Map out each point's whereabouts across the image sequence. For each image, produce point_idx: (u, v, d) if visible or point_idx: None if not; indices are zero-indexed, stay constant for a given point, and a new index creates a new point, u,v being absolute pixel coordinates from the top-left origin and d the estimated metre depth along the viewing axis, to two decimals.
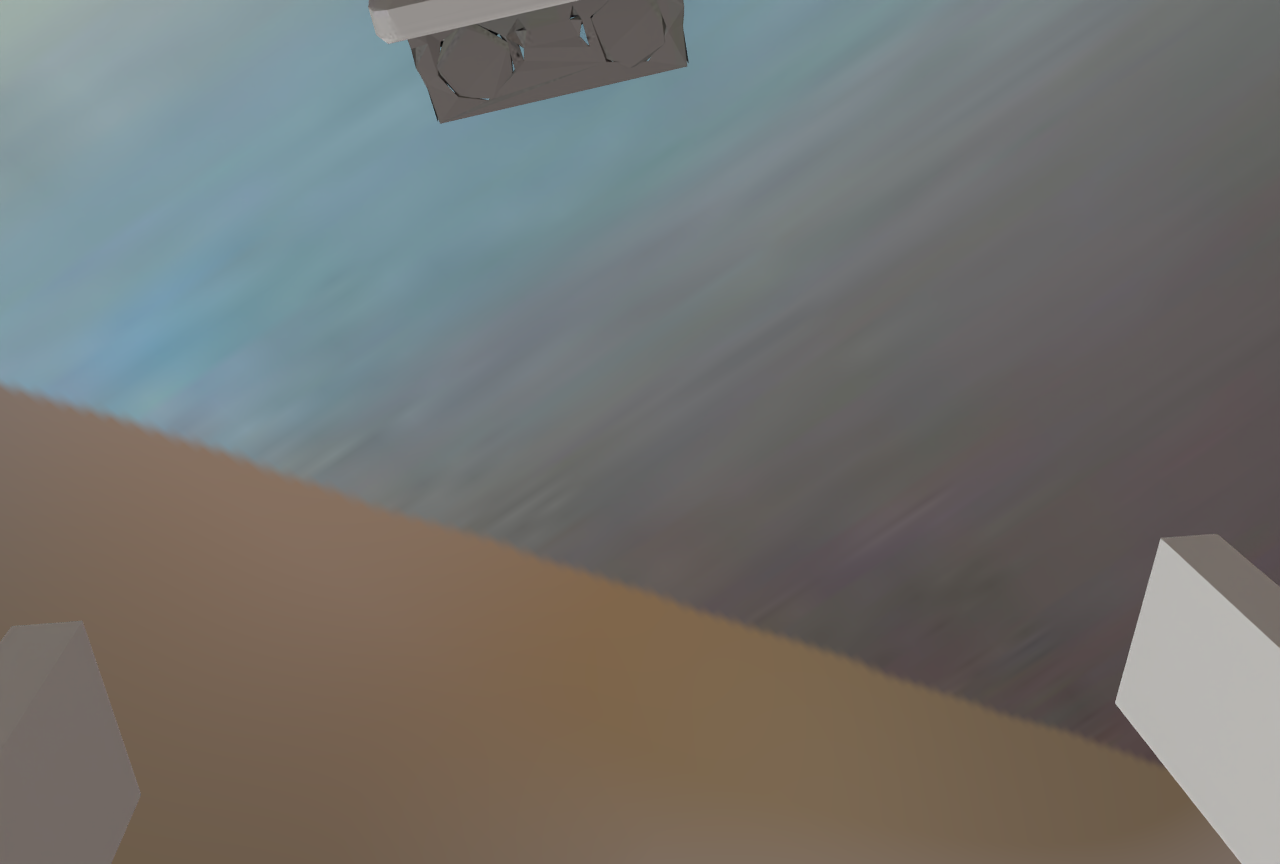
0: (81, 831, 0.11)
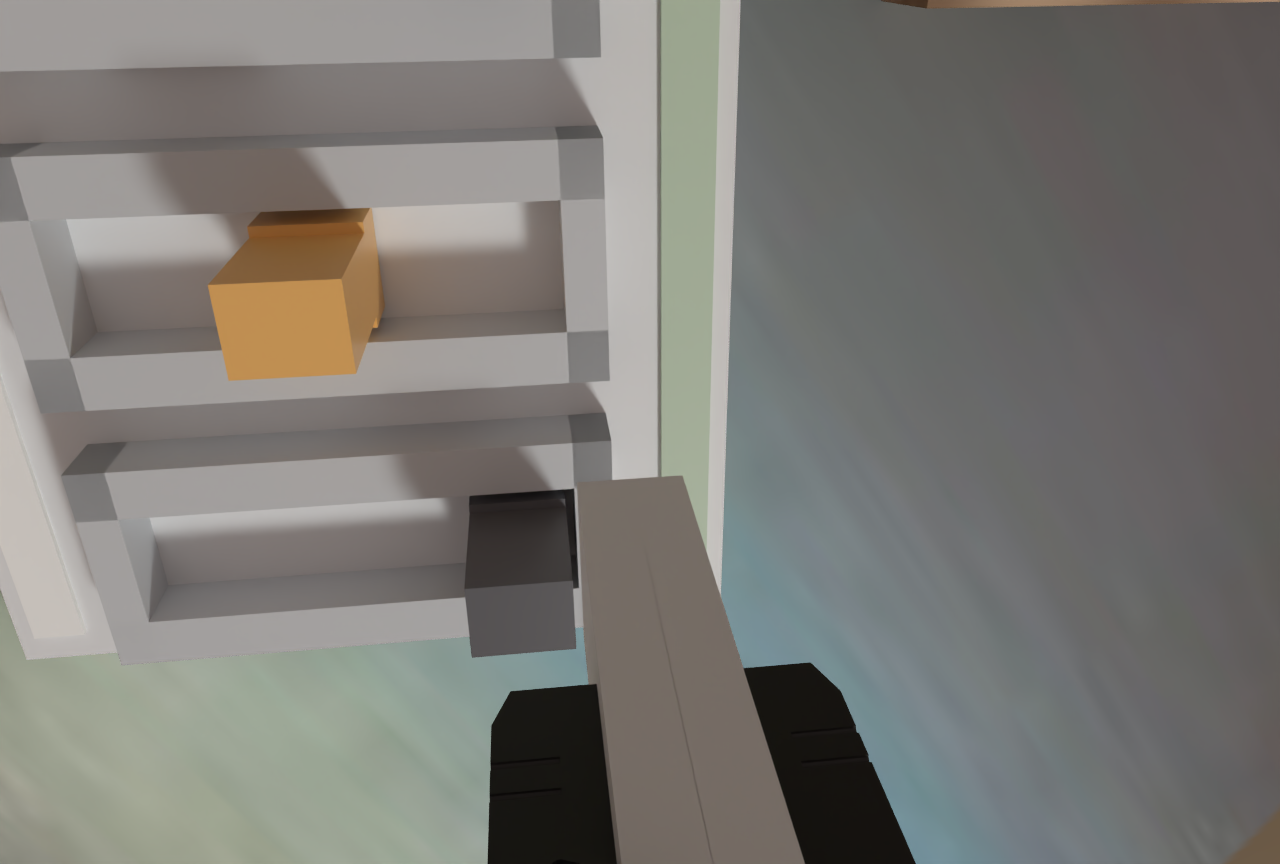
0: None
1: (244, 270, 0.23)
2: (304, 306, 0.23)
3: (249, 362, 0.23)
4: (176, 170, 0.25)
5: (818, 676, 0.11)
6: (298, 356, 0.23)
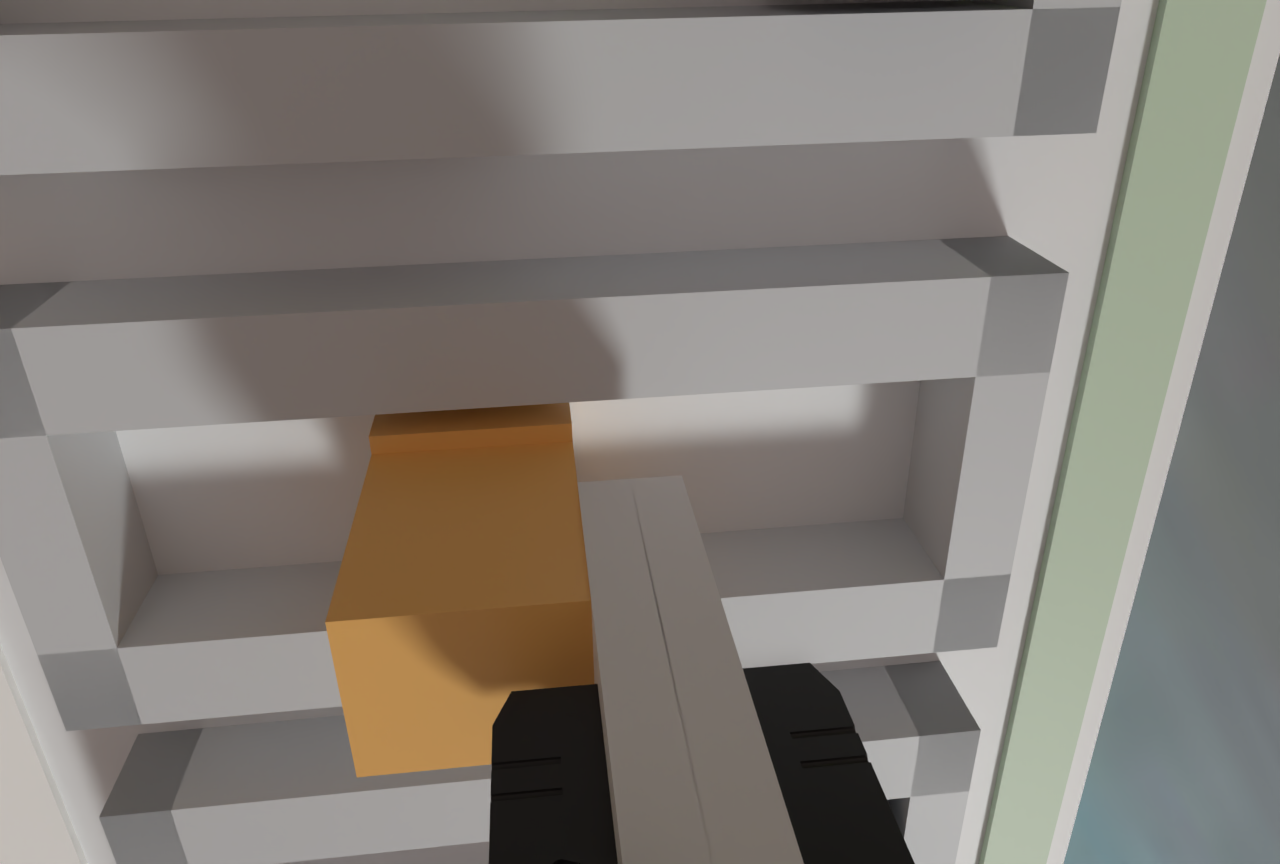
0: None
1: (386, 565, 0.12)
2: (513, 650, 0.11)
3: (398, 746, 0.12)
4: (315, 344, 0.13)
5: (818, 676, 0.11)
6: None
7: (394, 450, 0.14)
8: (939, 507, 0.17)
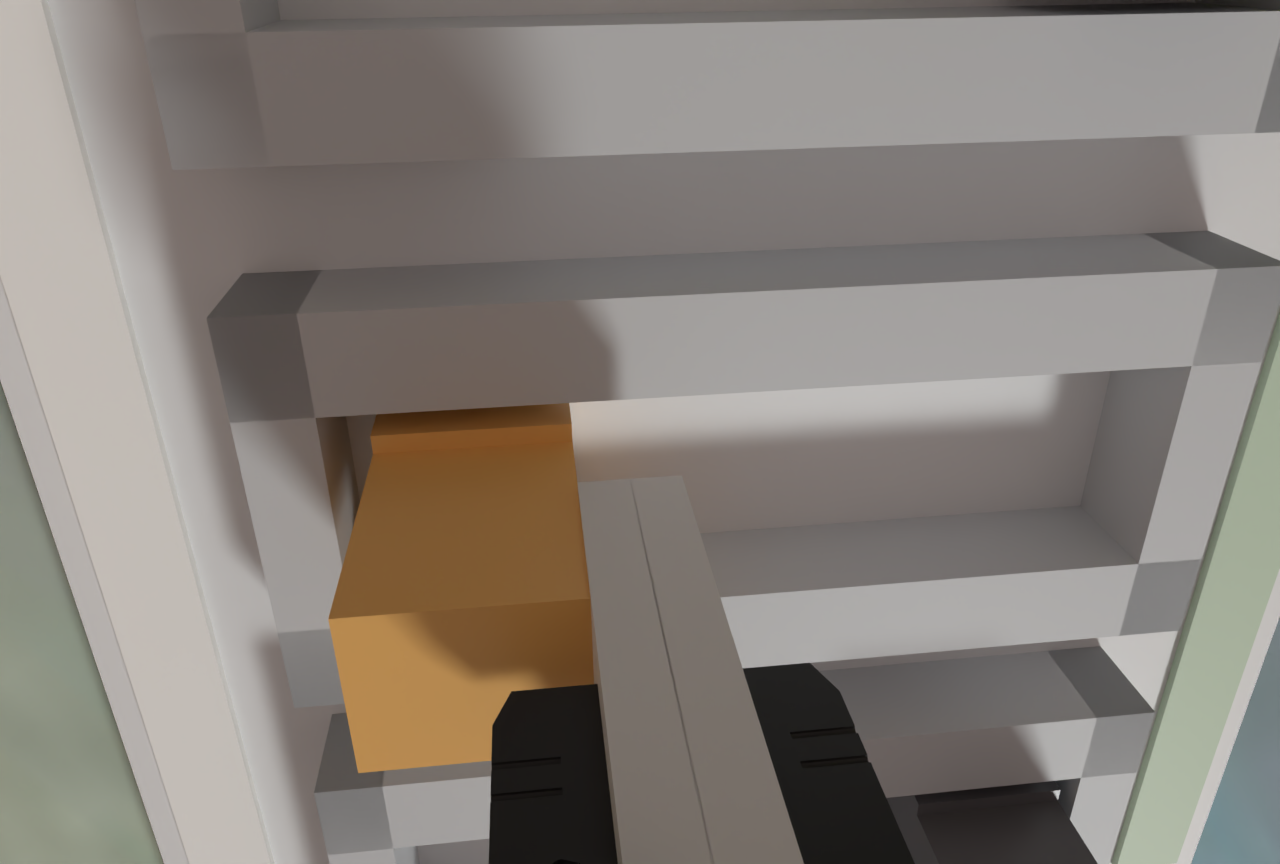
0: None
1: (389, 563, 0.12)
2: (513, 648, 0.12)
3: (399, 742, 0.12)
4: (578, 330, 0.14)
5: (818, 675, 0.11)
6: None
7: (395, 449, 0.15)
8: (1134, 493, 0.17)
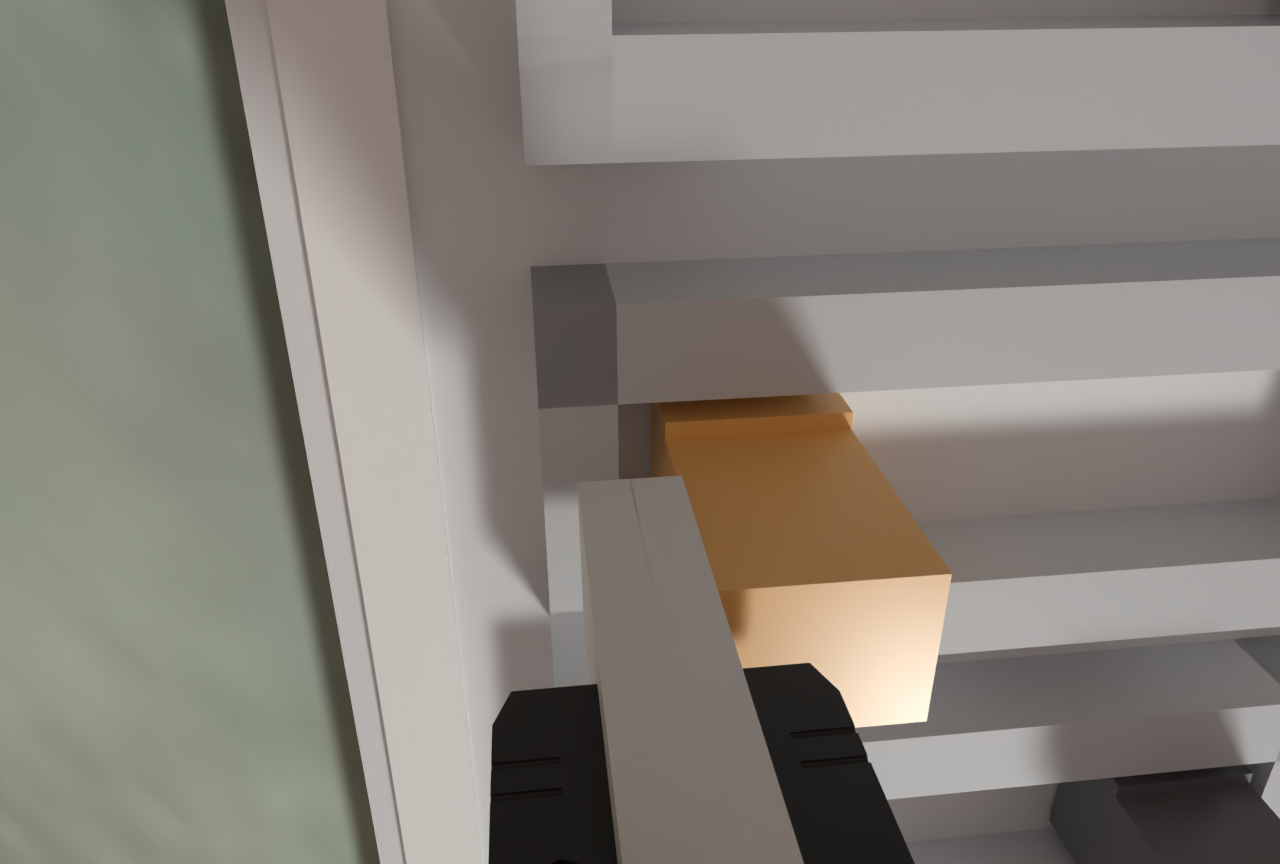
0: None
1: (740, 541, 0.13)
2: (872, 621, 0.12)
3: None
4: (873, 322, 0.15)
5: (817, 675, 0.11)
6: None
7: (686, 436, 0.15)
8: None
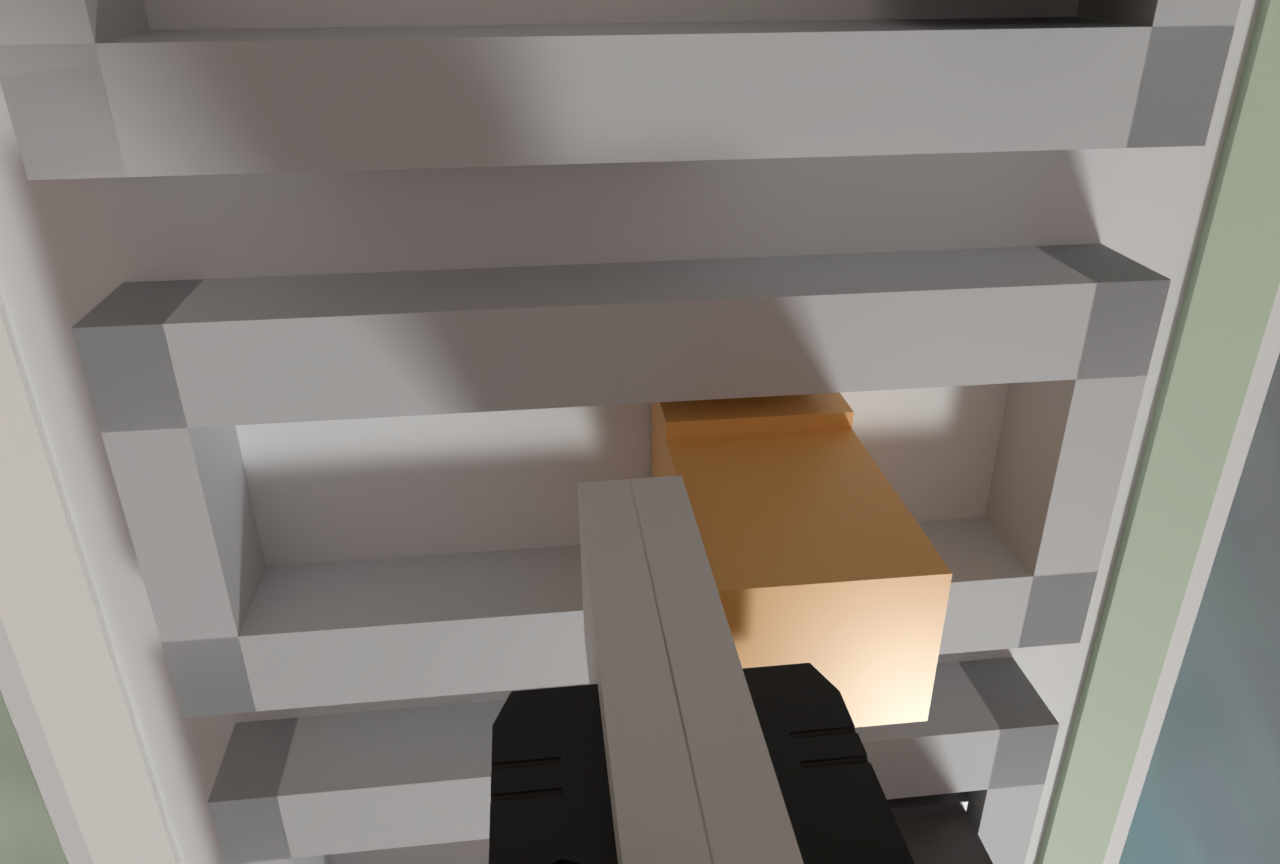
0: None
1: (740, 541, 0.13)
2: (873, 620, 0.12)
3: None
4: (450, 342, 0.14)
5: (817, 675, 0.11)
6: None
7: (687, 435, 0.15)
8: (1029, 506, 0.17)
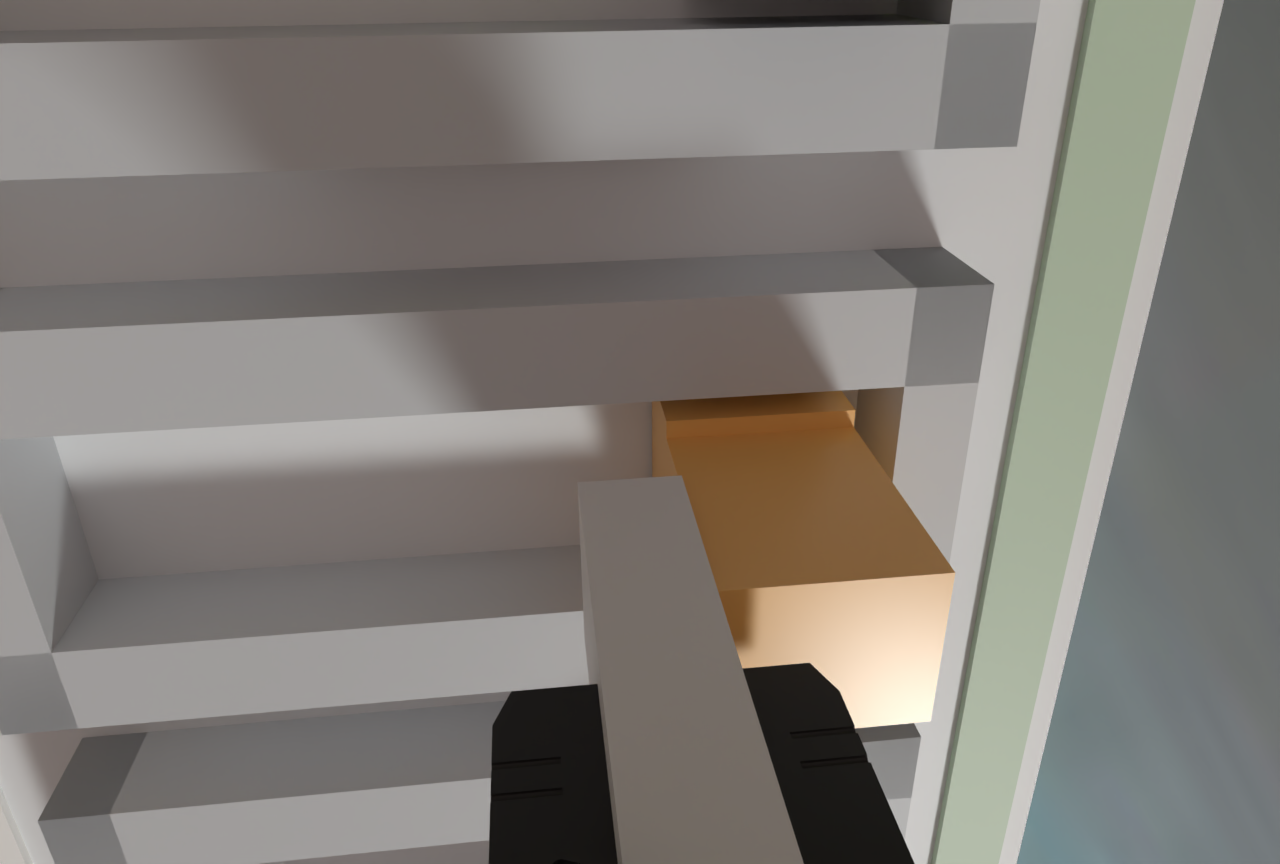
0: None
1: (742, 540, 0.13)
2: (875, 620, 0.12)
3: None
4: (242, 351, 0.14)
5: (818, 675, 0.11)
6: None
7: (687, 434, 0.15)
8: None
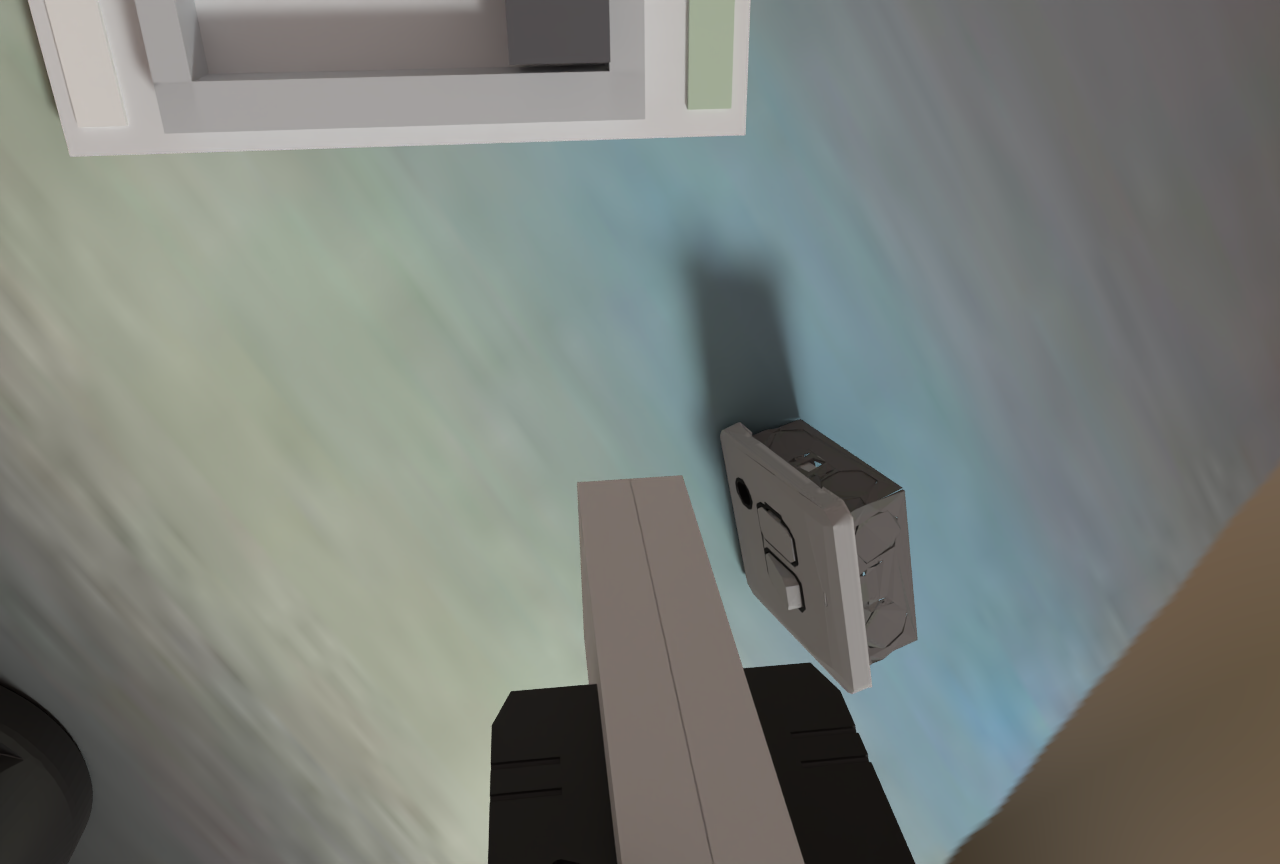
0: None
1: None
2: None
3: None
4: None
5: (818, 675, 0.11)
6: None
7: None
8: None
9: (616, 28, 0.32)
